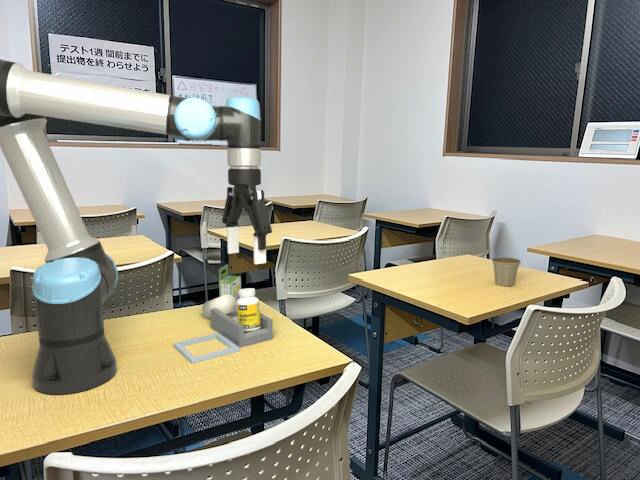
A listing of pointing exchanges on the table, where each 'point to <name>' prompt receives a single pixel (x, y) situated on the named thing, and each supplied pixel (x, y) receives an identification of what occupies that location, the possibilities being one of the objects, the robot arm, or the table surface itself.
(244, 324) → the supplement bottle
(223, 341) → the grey square frame
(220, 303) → the white thermos bottle
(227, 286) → the ink box
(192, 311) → the table surface
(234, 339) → the grey cubby shelf
